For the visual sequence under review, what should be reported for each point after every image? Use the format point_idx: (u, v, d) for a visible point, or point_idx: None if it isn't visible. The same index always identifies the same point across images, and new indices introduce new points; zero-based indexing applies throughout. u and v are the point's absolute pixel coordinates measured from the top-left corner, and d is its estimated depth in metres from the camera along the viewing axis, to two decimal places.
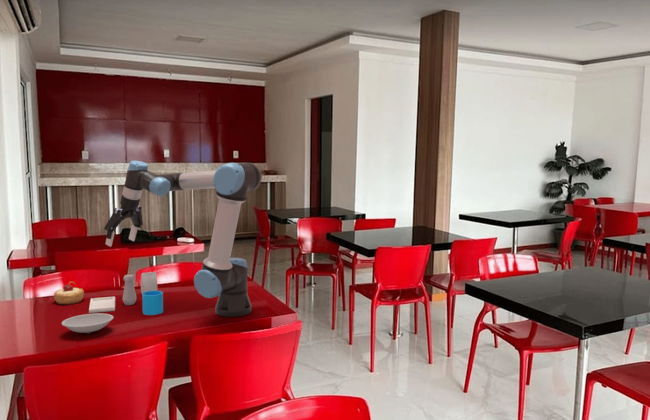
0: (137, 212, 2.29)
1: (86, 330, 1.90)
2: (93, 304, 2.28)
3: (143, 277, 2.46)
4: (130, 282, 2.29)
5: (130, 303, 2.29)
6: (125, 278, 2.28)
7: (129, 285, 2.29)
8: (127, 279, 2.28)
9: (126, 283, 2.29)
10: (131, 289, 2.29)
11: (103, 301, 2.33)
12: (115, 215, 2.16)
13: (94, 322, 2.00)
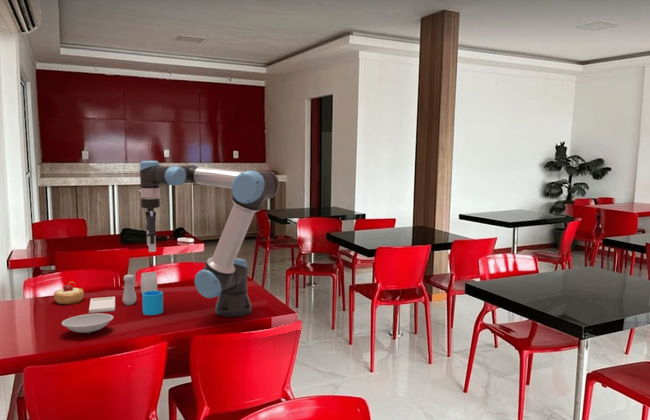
0: None
1: (86, 330, 1.90)
2: (93, 304, 2.28)
3: (143, 277, 2.46)
4: (130, 282, 2.29)
5: (130, 303, 2.29)
6: (125, 278, 2.28)
7: (129, 285, 2.29)
8: (127, 279, 2.28)
9: (126, 283, 2.29)
10: (131, 289, 2.29)
11: (103, 301, 2.33)
12: (152, 218, 2.11)
13: (94, 322, 2.00)
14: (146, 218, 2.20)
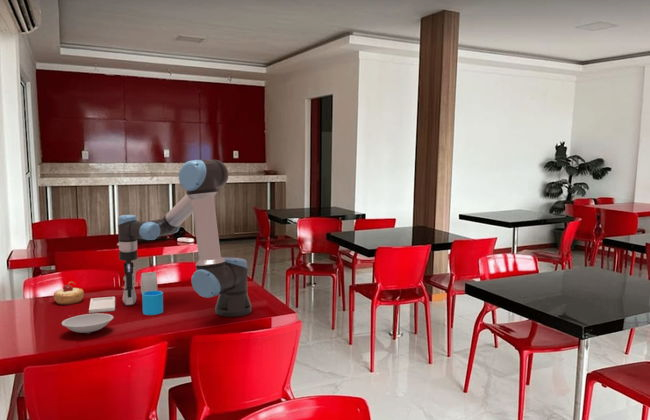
0: None
1: (86, 330, 1.90)
2: (93, 304, 2.28)
3: (143, 277, 2.46)
4: None
5: None
6: (125, 278, 2.28)
7: None
8: None
9: None
10: None
11: (103, 301, 2.33)
12: (130, 273, 2.24)
13: (94, 322, 2.00)
14: None
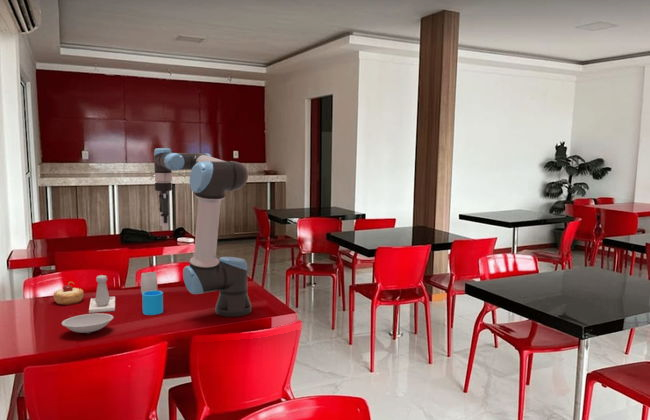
0: None
1: (86, 330, 1.90)
2: (93, 304, 2.28)
3: (143, 277, 2.46)
4: (103, 283, 2.25)
5: (103, 304, 2.25)
6: (97, 279, 2.24)
7: (101, 286, 2.25)
8: (99, 280, 2.24)
9: (99, 284, 2.25)
10: (104, 290, 2.25)
11: None
12: (165, 199, 2.35)
13: (94, 322, 2.00)
14: (159, 200, 2.43)
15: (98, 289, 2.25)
